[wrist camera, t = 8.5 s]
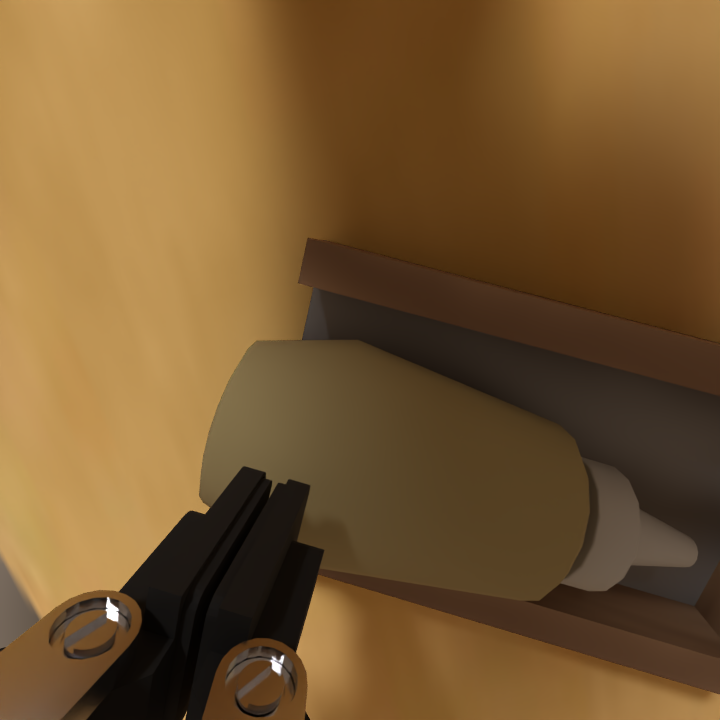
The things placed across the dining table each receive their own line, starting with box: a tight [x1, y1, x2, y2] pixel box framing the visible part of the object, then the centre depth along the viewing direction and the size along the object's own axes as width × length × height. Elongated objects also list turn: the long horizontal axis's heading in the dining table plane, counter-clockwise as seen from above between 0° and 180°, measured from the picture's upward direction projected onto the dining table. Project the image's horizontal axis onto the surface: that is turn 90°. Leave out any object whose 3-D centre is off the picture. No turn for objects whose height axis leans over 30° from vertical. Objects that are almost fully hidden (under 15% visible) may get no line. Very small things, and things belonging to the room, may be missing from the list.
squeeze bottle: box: [199, 340, 698, 601], centre depth 16 cm, size 8×8×18 cm
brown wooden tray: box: [298, 238, 720, 694], centre depth 18 cm, size 13×22×4 cm, turn 75°
